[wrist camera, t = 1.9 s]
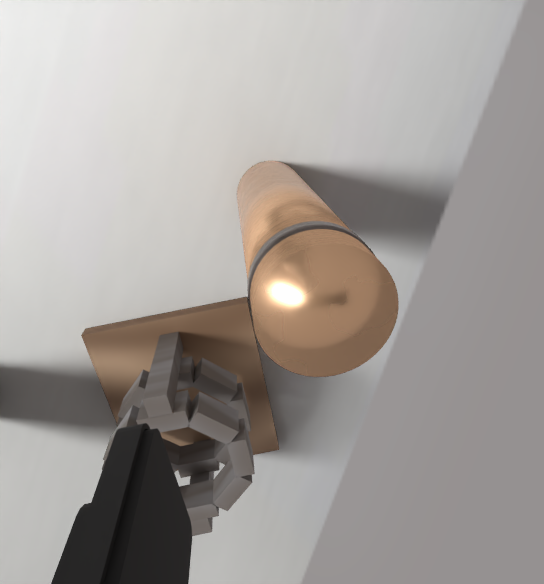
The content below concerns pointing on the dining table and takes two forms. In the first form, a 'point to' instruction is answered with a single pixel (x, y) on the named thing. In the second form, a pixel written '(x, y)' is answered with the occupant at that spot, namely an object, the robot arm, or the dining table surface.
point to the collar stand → (191, 395)
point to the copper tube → (310, 277)
